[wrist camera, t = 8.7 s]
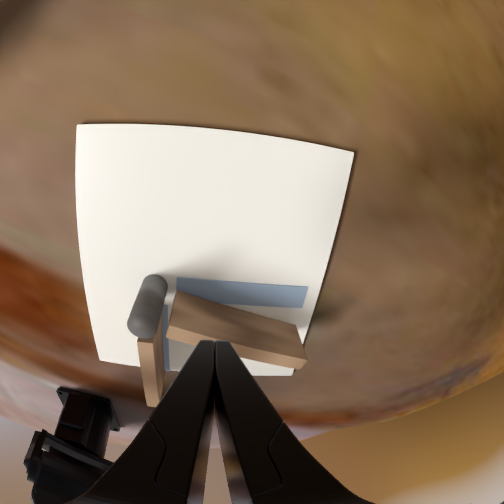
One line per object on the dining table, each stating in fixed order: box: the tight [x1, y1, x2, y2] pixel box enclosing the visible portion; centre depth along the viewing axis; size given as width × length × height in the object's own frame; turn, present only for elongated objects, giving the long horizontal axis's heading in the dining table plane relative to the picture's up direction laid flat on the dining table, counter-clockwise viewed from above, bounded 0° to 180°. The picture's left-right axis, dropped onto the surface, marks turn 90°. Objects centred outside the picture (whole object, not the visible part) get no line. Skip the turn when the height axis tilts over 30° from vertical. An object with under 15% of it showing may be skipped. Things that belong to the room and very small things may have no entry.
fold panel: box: [166, 290, 307, 370], centre depth 19 cm, size 9×1×4 cm, turn 67°
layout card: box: [76, 124, 354, 376], centre depth 20 cm, size 19×17×1 cm
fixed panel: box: [127, 274, 168, 407], centre depth 19 cm, size 9×2×5 cm, turn 172°
